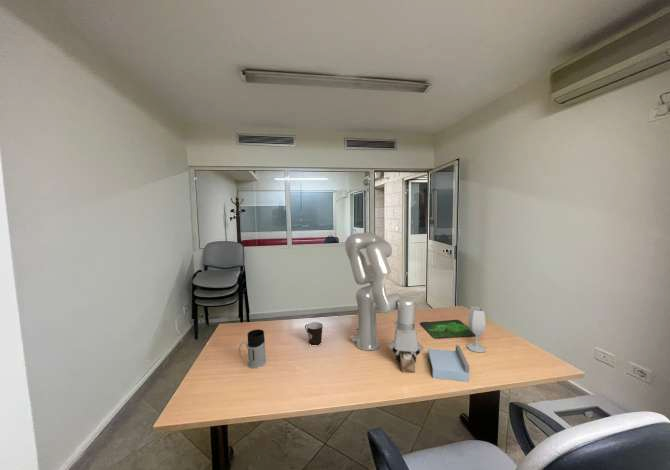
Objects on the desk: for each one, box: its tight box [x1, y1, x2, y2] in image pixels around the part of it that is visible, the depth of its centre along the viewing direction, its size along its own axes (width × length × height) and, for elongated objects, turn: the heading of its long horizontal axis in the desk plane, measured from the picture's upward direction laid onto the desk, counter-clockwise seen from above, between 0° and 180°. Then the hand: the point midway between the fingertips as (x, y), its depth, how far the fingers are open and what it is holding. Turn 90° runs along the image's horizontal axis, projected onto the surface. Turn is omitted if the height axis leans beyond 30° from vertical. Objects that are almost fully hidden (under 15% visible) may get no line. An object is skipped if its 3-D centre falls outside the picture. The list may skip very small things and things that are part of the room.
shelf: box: [427, 344, 470, 383], centre depth 118 cm, size 14×17×7 cm
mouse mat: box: [419, 319, 475, 340], centre depth 157 cm, size 27×22×1 cm
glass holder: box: [238, 329, 267, 369], centre depth 123 cm, size 9×14×15 cm, turn 149°
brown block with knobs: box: [398, 351, 416, 374], centre depth 122 cm, size 6×12×6 cm, turn 176°
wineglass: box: [466, 306, 487, 353], centre depth 134 cm, size 9×9×21 cm
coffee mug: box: [304, 321, 324, 346], centre depth 145 cm, size 12×9×10 cm
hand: (405, 362), depth 122 cm, fingers closed on brown block with knobs, 6 cm apart
